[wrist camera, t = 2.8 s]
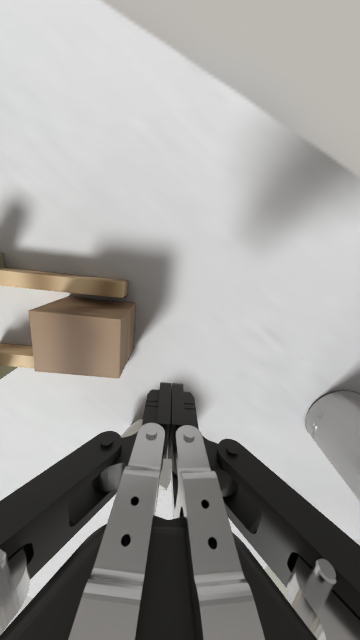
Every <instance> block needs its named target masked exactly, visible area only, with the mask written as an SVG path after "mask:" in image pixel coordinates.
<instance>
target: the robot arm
mask: <svg viewBox="0 0 360 640" xmlns="http://www.w3.org/2000/svg"><path fill="white" fill-rule="evenodd" d="M305 422H306V429H307V431H308V433H309V434H310V435H311V437H312V438H313V439H314V441H315V442H316V444H317V445H318V446H319V448H320V449H321V450H322V452H323V453H324V454H325V456H326V457H327V458H328V460H329V461H330V462H331V464H332V465H333V466H334V468H335V469H336V470H337V472H338V473H339V474H340V476H341V477H342V478H343V480H344V481H345V482H346V484H347V485H348V486H349V488H350V489H351V490H352V492H353V493H354V494H355V496H356V497H357V498H358V500H359V501H360V395H359V394H358V393H355V392H352V391H337V392H333V393H330V394H328V395H325V396H324V397H322V398H320V399H319V400H318V401H317V402H315V403H314V404H313V405H312V407H311V408H310V409H309V411H308V413H307V416H306V421H305ZM167 449H168V459H172V468H171V488H172V504H173V519H172V520H165V519H163V518H160V517H157V516H155V512H156V505H157V497H158V490H159V483H160V475H161V471H162V468H163V460H164V459H166V458H167ZM116 493H117V494H116ZM115 494H116V497H115V500H114V503H113V507H112V510H111V513H110V516H109V519H108V523H107V524H106V525H104V526H102V527H101V528H99V529H98V530H96V531H95V532H94V533H92V534H91V535H90V536H89V537H88V538H87V539H86V540H85V541H84V542H83V543H82V544H81V546H80V547H79V548H78V549H77V550H76V551H75V552H74V553H73V554H72V556H71V557H70V558H69V559H68V560H67V561H66V562H65V563H64V565H63V566H62V567H61V568H60V569H59V570H58V571H57V572H56V574H55V575H54V576H53V577H52V578H51V579H50V580H49V581H48V583H47V584H46V585H45V586H44V587H43V588H42V589H41V590H40V591H39V593H38V594H37V595H36V596H35V597H34V598H33V599H32V600H31V602H30V603H29V604H28V605H27V606H26V607H25V608H24V610H23V611H22V612H21V613H20V614H19V615H18V616H17V617H16V618H15V619H14V621H13V622H12V623H11V624H10V625H9V626H8V627H7V625H8V624H9V623H10V621H11V620H12V619H13V618H14V616H15V615H16V614H17V612H18V611H19V609H20V608H21V606H22V604H23V603H24V600H25V598H26V596H27V593H28V590H29V585H30V579H31V578H32V577H33V576H34V575H35V574H36V573H37V572H38V571H39V570H40V569H41V568H42V567H43V566H44V565H45V564H46V563H47V562H48V561H49V560H50V559H51V558H52V557H53V556H54V555H55V554H56V553H57V552H58V551H59V550H60V549H61V548H62V547H63V546H64V545H65V544H66V543H67V542H68V541H69V540H70V539H71V538H72V537H73V536H74V535H75V534H76V533H77V532H78V531H79V530H80V529H81V528H82V527H83V526H84V525H85V524H86V523H87V522H88V521H89V520H90V519H91V518H92V517H93V516H94V515H95V514H96V513H97V512H98V511H99V510H100V509H101V508H102V507H103V506H104V505H105V504H106V503H107V502H108V501H109V500H110V499H111V498H112V497H113V496H114V495H115ZM228 517H229V519H230V520H231V521H232V522H233V524H234V525H235V526H236V527H237V528H238V530H239V531H240V532H241V533H242V534H243V536H244V537H245V538H246V539H247V540H248V542H249V543H250V544H251V545H252V547H253V548H254V549H255V550H256V551H257V553H258V554H259V555H260V556H261V557H262V559H263V560H264V561H265V562H266V563H267V565H268V566H269V567H270V568H271V570H272V571H273V572H274V573H275V574H276V576H277V577H278V578H279V579H280V580H281V582H282V583H283V584H284V585H285V586H286V588H287V592H288V598H289V601H290V603H289V602H288V601H287V600H286V598H285V597H284V595H283V594H282V593H281V591H280V590H279V589H278V587H277V586H276V585H275V583H274V582H273V581H272V580H271V578H270V577H269V576H268V574H267V573H266V572H265V570H264V569H263V568H262V566H261V565H260V564H259V563H258V561H257V560H256V559H255V557H254V556H253V555H252V553H251V552H250V551H249V549H248V548H247V547H246V546H245V544H244V543H243V542H242V541H241V540H240V539H239V538H238V537H237V536H236V535H235V534H234V533H232V531H231V527H230V523H229V520H228ZM6 627H7V628H6ZM5 628H6V630H5ZM4 630H5V631H4ZM3 631H4V632H3ZM0 640H360V546H359V545H358V544H357V543H356V542H355V541H353V540H352V539H351V538H350V537H349V536H348V535H346V534H345V533H344V532H343V531H342V530H341V529H339V528H338V527H337V526H336V525H335V524H334V523H332V522H331V521H330V520H329V519H328V518H327V517H325V516H324V515H323V514H322V513H321V512H319V511H318V510H317V509H316V508H315V507H314V506H312V505H311V504H310V503H309V502H308V501H307V500H305V499H304V498H303V497H302V496H301V495H300V494H298V493H297V492H296V491H295V490H294V489H292V488H291V487H290V486H289V485H288V484H287V483H285V482H284V481H283V480H282V479H281V478H280V477H278V476H277V475H276V474H275V473H274V472H273V471H271V470H270V469H269V468H268V467H267V466H265V465H264V464H263V463H262V462H261V461H260V460H258V459H257V458H256V457H255V456H254V455H253V454H251V453H250V452H249V451H248V450H247V449H246V448H244V447H243V446H242V445H241V444H240V443H238V442H237V441H235V440H232V439H224V440H222V441H220V442H219V444H217V443H214V442H211V441H209V440H207V439H206V438H204V437H203V436H202V434H201V432H200V431H199V429H198V422H197V415H196V408H195V401H194V397H193V396H192V394H191V393H190V392H183V384H175V383H172V387H171V383H160V390H151V391H150V392H149V393H148V395H147V400H146V406H145V411H144V416H143V421H142V426H141V428H140V429H139V431H138V432H136V433H135V434H133V435H131V436H128V437H123V438H121V436H120V435H119V434H118V433H116V432H113V431H106V432H103V433H100V434H99V435H97V436H96V437H94V438H93V439H91V440H90V441H88V442H87V443H85V444H84V445H82V446H81V447H79V448H78V449H76V450H75V451H74V452H72V453H71V454H69V455H68V456H66V457H65V458H63V459H62V460H60V461H59V462H57V463H56V464H54V465H53V466H51V467H50V468H48V469H47V470H45V471H44V472H43V473H41V474H40V475H38V476H37V477H35V478H34V479H32V480H31V481H29V482H28V483H26V484H25V485H23V486H22V487H20V488H19V489H17V490H16V491H14V492H13V493H11V494H10V495H9V496H7V497H6V498H4V499H3V500H1V501H0Z"/></svg>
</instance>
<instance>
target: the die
mask: <svg viewBox="0 0 360 640" xmlns="http://www.w3.org/2000/svg"><path fill="white" fill-rule="evenodd" d="M142 421H143V419H139V420H137V421H136V422H135V423H133V424H132V425H131V426H130V427H129V428H128V429H127V430H126V431H125V433H124V434H123V435H122V436H121V438H123V437H128V436H131V435H133V434H135V433H136V432H138V431H139V429H140V428H141V426H142ZM171 468H172V459H168V449H167V458H166V459H164V460H163V468H162V471H161V475H160V483H159V490H158V491H163V490H167V487H168V485H169V483H170V480H171Z"/></svg>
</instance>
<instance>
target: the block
mask: <svg viewBox="0 0 360 640" xmlns="http://www.w3.org/2000/svg"><path fill="white" fill-rule="evenodd" d="M135 306H136V303H129V302H120V301H110V300H100V299H90V298H80V297H70V296H68V297H65V298H62V299H60V300H57V301H54V302H51V303H48V304H46V305H43V306H40V307H37V308H35V309H32V310H29V320H30V329H31V339H32V349H33V358H34V368H35V371H38V372H50V373H61V374H73V375H85V376H97V377H109V378H120V376H121V374H122V371H123V369H124V367H125V365H126V363H127V361H128V359H129V357H130V355H131V353H132V350H133V348H134V327H135Z"/></svg>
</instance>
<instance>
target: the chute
mask: <svg viewBox="0 0 360 640" xmlns="http://www.w3.org/2000/svg"><path fill="white" fill-rule="evenodd" d="M0 286H10V287H19V288H29V289H39V290H49V291H59V292H68V293H78V294H88V295H98V296H108V297H117V298H123V297H124V296H126V295H127V294H128V281H126V280H117V279H108V278H98V277H89V276H79V275H70V274H60V273H51V272H42V271H32V270H23V269H13V268H5V262H4V254H3V253H0ZM17 367H24V368H34V358H33V349H32V346H24V345H13V344H2V343H0V379H1V378H3V377H4V376H6V375H7V374H9V373H10V372H11V371H13V370H14V369H16V368H17Z"/></svg>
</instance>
